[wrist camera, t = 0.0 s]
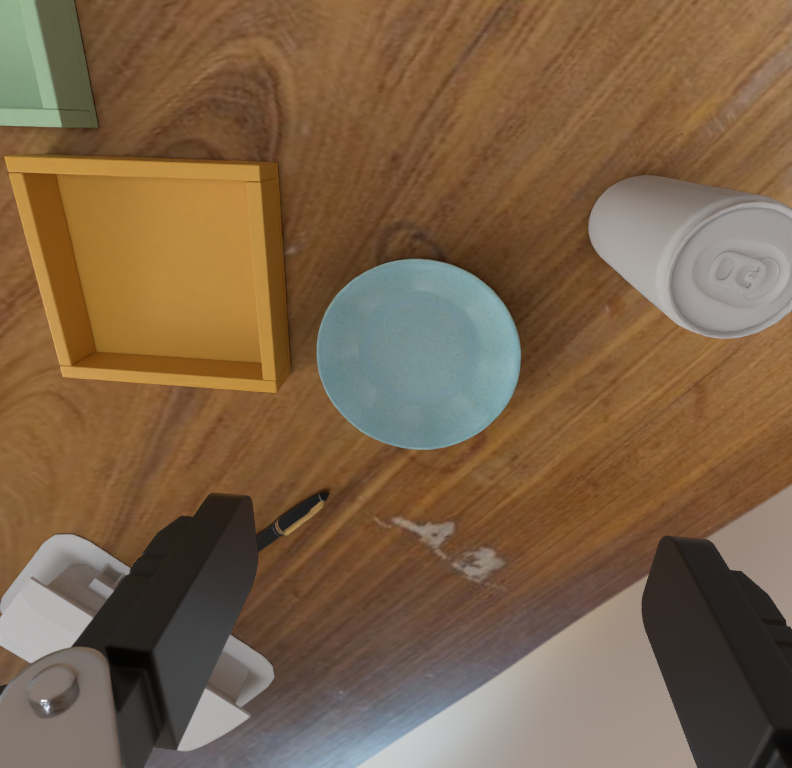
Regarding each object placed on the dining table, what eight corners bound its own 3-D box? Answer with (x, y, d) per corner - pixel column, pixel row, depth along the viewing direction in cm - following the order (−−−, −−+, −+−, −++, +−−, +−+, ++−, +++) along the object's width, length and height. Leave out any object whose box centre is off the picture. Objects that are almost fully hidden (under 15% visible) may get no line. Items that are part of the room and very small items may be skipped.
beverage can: (653, 277, 29) (768, 359, 18) (570, 252, 29) (636, 320, 18) (698, 188, 27) (857, 222, 16) (609, 160, 27) (709, 176, 16)
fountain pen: (213, 580, 43) (205, 594, 42) (202, 571, 43) (194, 585, 41) (337, 492, 38) (332, 505, 36) (325, 481, 38) (320, 494, 36)
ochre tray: (44, 153, 30) (3, 155, 27) (278, 162, 29) (259, 164, 26) (92, 359, 35) (62, 377, 33) (291, 372, 34) (276, 393, 31)
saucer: (287, 316, 33) (276, 329, 30) (453, 209, 29) (453, 215, 27) (391, 458, 36) (387, 478, 34) (551, 379, 32) (557, 395, 30)
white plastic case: (60, 521, 42) (23, 556, 38) (287, 671, 47) (273, 715, 43) (-11, 614, 48) (-48, 652, 44) (198, 739, 53) (179, 782, 49)
